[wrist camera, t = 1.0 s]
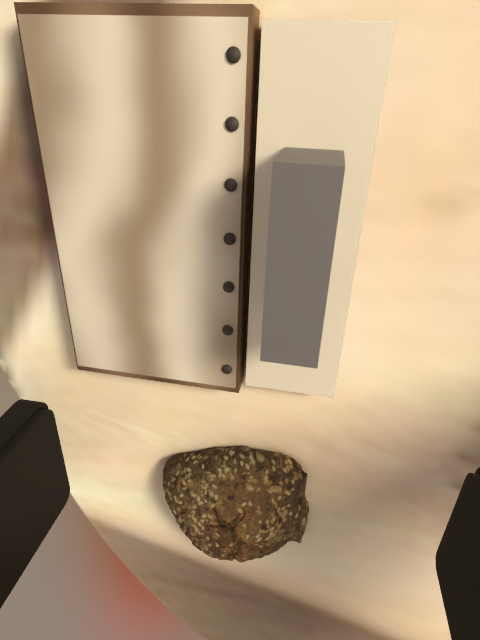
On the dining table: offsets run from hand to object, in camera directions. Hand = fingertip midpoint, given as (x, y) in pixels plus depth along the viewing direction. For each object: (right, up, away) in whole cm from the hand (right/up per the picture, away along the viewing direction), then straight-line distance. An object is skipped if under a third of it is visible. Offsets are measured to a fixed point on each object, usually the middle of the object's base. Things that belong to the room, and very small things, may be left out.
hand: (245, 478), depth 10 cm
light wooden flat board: (-5, +10, +18) cm, 21 cm away
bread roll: (0, -12, +29) cm, 31 cm away
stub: (+4, +9, +16) cm, 19 cm away
